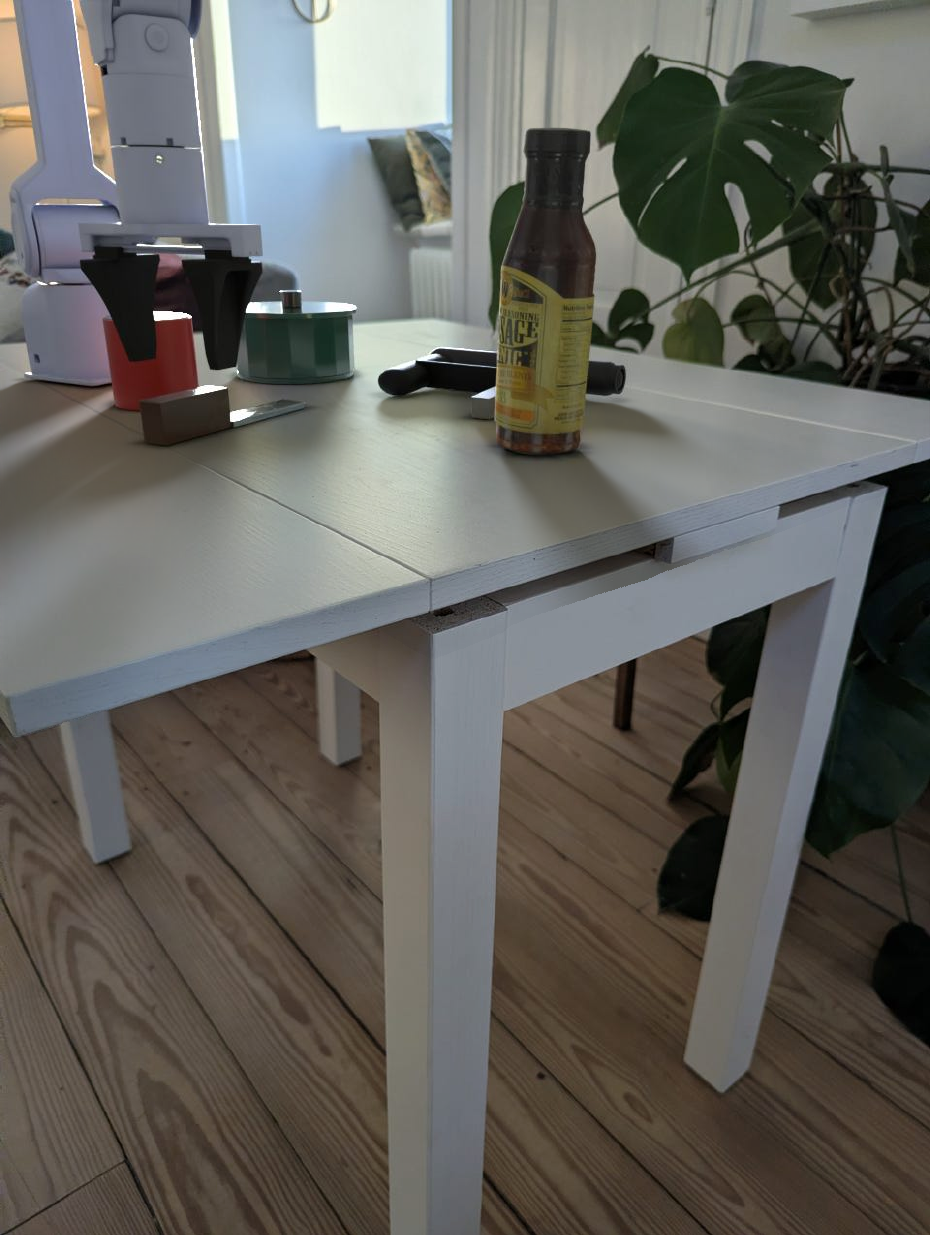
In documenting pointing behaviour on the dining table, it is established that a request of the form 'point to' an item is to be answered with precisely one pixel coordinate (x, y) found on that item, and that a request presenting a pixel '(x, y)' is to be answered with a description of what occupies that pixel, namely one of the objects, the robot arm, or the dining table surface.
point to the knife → (200, 414)
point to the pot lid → (297, 308)
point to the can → (153, 362)
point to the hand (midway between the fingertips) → (182, 364)
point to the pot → (296, 350)
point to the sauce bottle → (546, 301)
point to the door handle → (480, 376)
